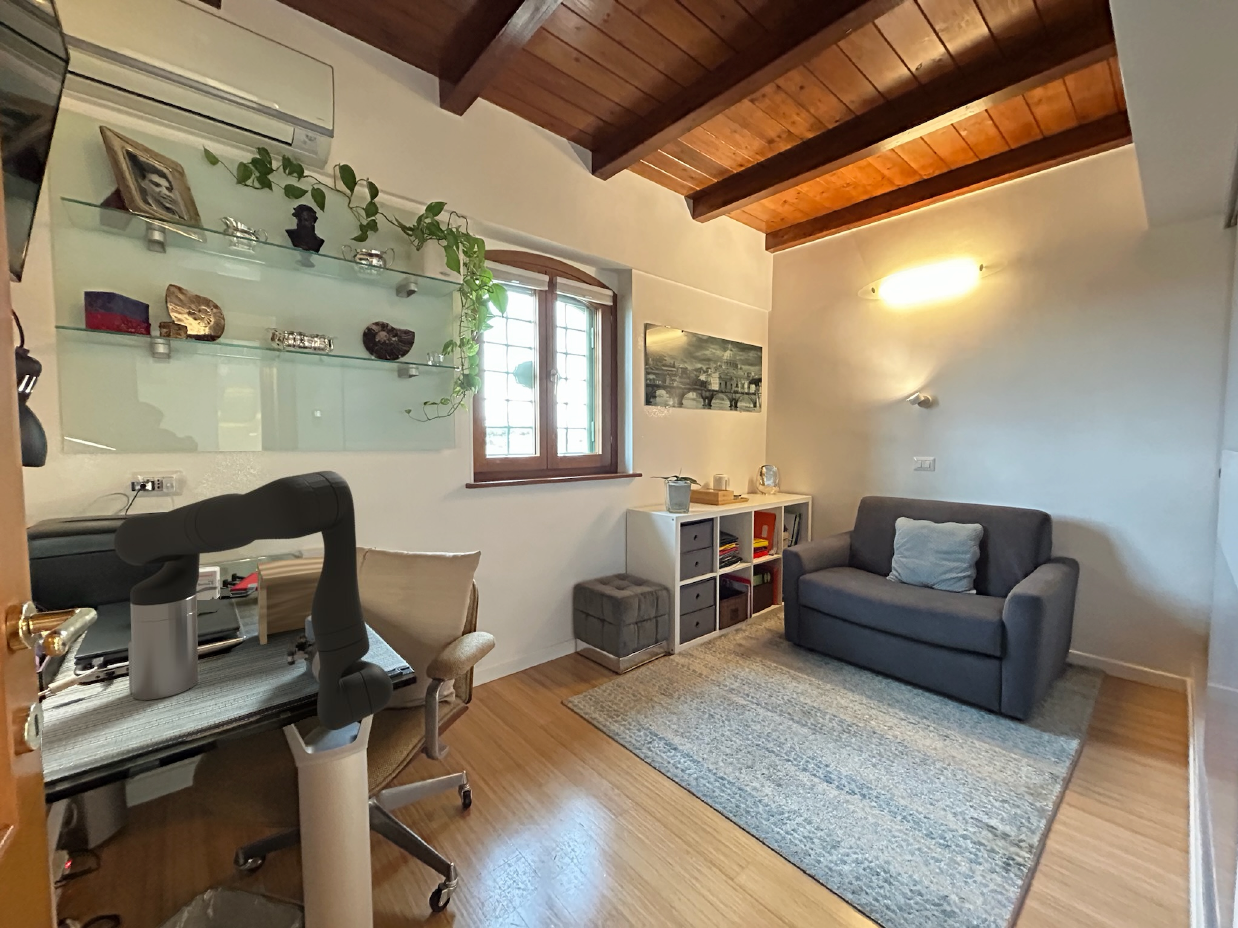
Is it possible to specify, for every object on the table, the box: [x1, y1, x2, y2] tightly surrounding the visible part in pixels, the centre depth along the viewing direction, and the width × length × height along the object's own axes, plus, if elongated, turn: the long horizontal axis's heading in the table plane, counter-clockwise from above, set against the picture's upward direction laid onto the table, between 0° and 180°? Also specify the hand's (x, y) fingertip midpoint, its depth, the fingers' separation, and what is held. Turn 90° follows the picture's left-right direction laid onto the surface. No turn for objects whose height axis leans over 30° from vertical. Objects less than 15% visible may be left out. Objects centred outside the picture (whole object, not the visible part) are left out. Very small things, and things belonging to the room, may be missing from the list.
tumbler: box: [304, 615, 315, 677], centre depth 104 cm, size 6×6×11 cm
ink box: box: [196, 566, 221, 600], centre depth 139 cm, size 9×5×12 cm, turn 120°
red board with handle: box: [221, 572, 258, 597], centre depth 166 cm, size 30×3×15 cm
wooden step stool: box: [256, 555, 324, 645], centre depth 121 cm, size 18×18×18 cm
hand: (320, 634), depth 106 cm, fingers closed on tumbler, 6 cm apart
